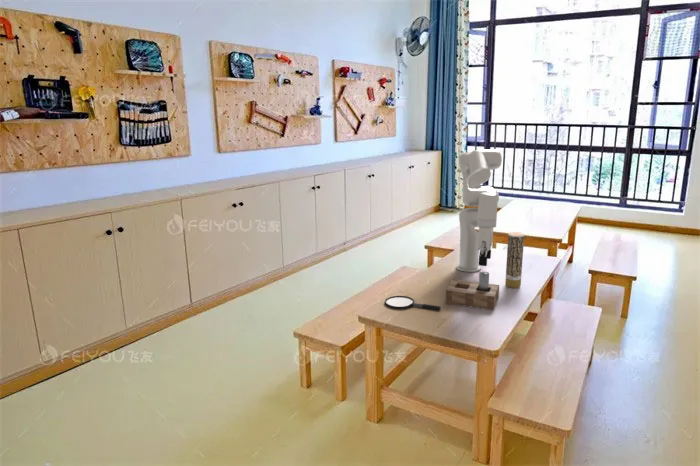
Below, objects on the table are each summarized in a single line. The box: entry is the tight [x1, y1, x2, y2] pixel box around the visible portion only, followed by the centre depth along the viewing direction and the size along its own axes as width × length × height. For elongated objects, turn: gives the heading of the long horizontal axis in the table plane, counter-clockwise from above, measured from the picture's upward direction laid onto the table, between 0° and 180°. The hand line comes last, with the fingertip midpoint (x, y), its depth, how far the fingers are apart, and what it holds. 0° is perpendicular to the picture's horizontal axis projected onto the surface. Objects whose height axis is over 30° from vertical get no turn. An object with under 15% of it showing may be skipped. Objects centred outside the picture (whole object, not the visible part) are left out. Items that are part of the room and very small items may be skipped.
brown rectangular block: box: [445, 278, 500, 311], centre depth 209 cm, size 14×20×6 cm
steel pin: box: [478, 271, 490, 292], centre depth 206 cm, size 4×4×12 cm
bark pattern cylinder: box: [504, 231, 525, 289], centre depth 222 cm, size 7×7×25 cm
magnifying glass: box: [384, 295, 441, 312], centre depth 205 cm, size 12×24×2 cm, turn 64°
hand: (484, 261), depth 203 cm, fingers open, 9 cm apart
